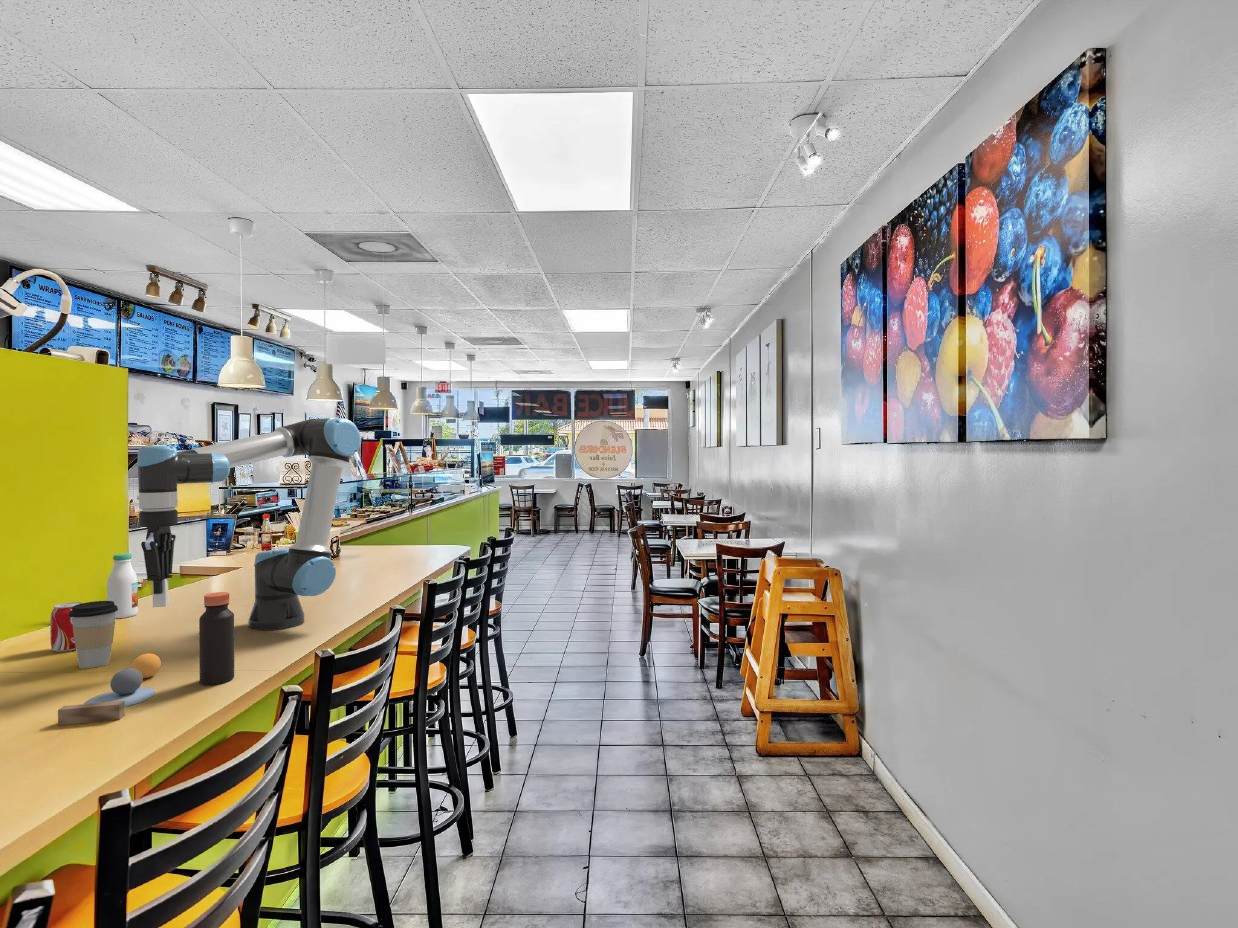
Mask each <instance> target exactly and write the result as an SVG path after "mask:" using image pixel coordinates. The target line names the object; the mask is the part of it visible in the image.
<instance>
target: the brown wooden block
mask: <svg viewBox="0 0 1238 928" xmlns="http://www.w3.org/2000/svg"><path fill="white" fill-rule="evenodd" d="M125 708H126V707H125V704H124V701H114V702H102V703H91V704H84V703H82V704H81V703H80V704H71V705H63V706H62V707H60V708H59V709H58V710H57V726H65V725H66V726H67V725H76V724H86V723H87V724H88V723H98V722H99V723H100V722H109V721H120V720H121V719H123V717H124V716H125Z"/></svg>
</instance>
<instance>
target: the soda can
mask: <svg viewBox="0 0 1238 928" xmlns="http://www.w3.org/2000/svg"><path fill="white" fill-rule="evenodd" d="M82 603H83V602H80V601H72V602H64V603H63V602H62V603H58V604H55V605H54V606H53V609H52V611H51V612H50V620H49V621H50V622H49V623H50V626H49V627H50V628H49V629H50V632H49V633H50V634H49V635H50V636H49V637H50V647H51V651H55V652H56V653H67V652H68V651H69V652H73V651H72V650H74V651H77V650H76V647H75V640H74V632H73V619H72V617H69V616H68V615H69V612H70V611H71V610H72V607H73V606H75V605H78V604H82ZM69 652H68V653H69Z"/></svg>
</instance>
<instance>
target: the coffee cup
mask: <svg viewBox="0 0 1238 928" xmlns="http://www.w3.org/2000/svg"><path fill="white" fill-rule="evenodd" d="M117 610H118V608H117V606H116V605H115V604H114V602H113V601H107V600H98V601H97V600H96V601H95V600H94V601H87V602H82V604H78V605H75V606H73V607H72V610H71V611H70V612H69V615H68V616H69V617H72V619H73V632H74V640H75V647H76V649H77V650H76V653H77V661H78V668H80V669H84V668H85V669H93V668H94V667H95V668H99V667H103V666H107V665H108V664H110V663H111V662H110V660H111V656H112V655H111V653H112V646H113V643H114V635H115V628H116V627H115V625H116V619H115V612H116V611H117ZM102 665H103V666H102Z"/></svg>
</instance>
